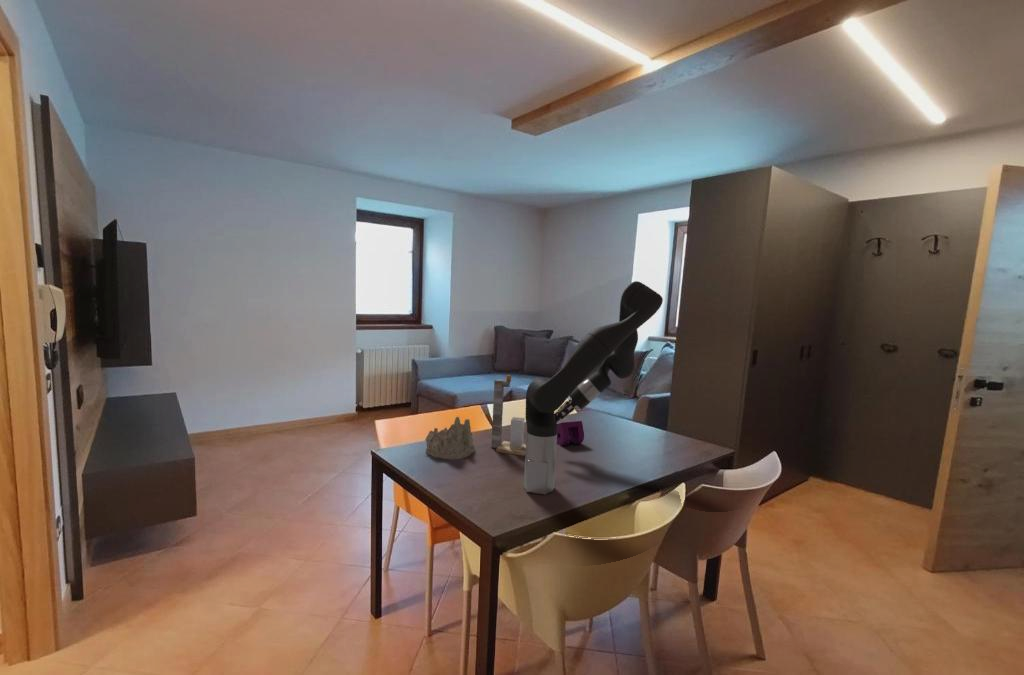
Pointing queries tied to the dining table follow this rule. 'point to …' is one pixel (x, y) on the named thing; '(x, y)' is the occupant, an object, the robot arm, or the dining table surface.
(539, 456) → the robot arm
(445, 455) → the gray sandcastle
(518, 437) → the gray rectangular block
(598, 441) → the dining table surface
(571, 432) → the mounting bracket
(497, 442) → the keeper
